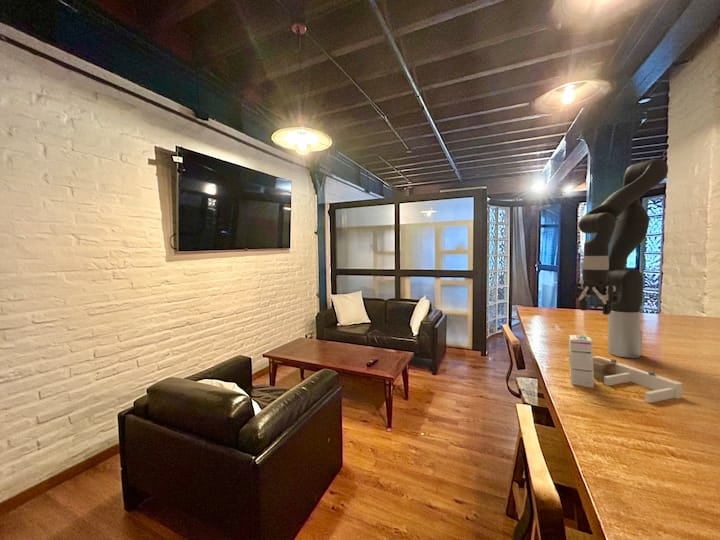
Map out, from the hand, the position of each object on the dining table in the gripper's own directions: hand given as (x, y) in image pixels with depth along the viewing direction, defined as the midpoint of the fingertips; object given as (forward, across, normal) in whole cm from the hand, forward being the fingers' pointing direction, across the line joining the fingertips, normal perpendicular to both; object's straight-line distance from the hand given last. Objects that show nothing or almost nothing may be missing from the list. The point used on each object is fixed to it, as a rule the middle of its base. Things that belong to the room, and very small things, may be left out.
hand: (594, 312), depth 109 cm
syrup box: (+19, -13, +20) cm, 30 cm away
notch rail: (+19, -17, +9) cm, 27 cm away
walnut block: (+19, -11, +10) cm, 24 cm away
